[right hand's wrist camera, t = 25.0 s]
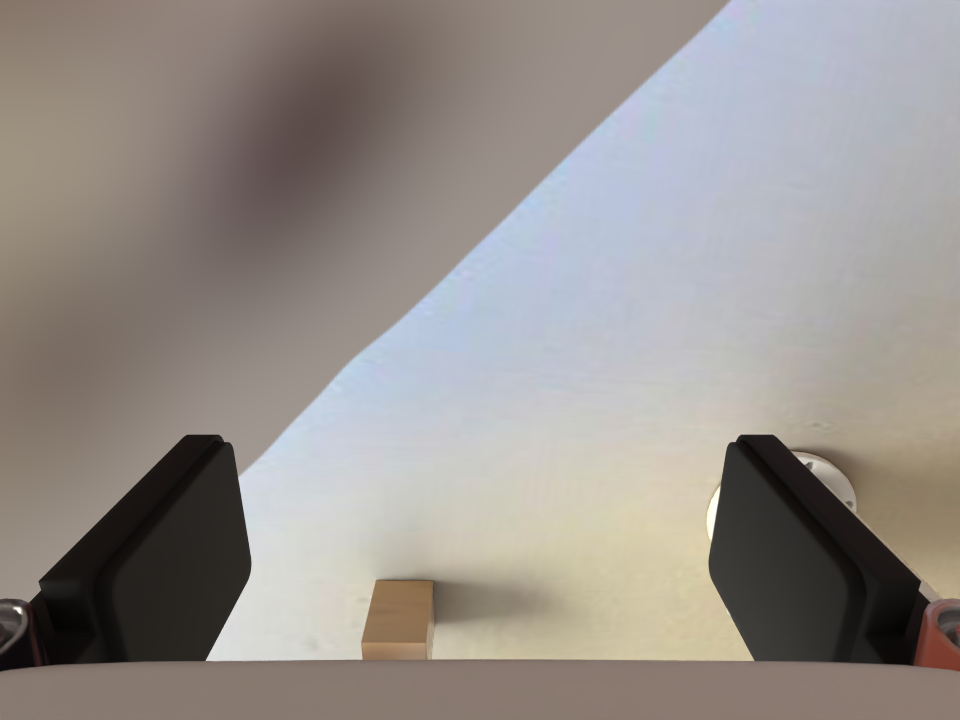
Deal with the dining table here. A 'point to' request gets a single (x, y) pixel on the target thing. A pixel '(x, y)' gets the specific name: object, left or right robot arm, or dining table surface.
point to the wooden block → (400, 621)
